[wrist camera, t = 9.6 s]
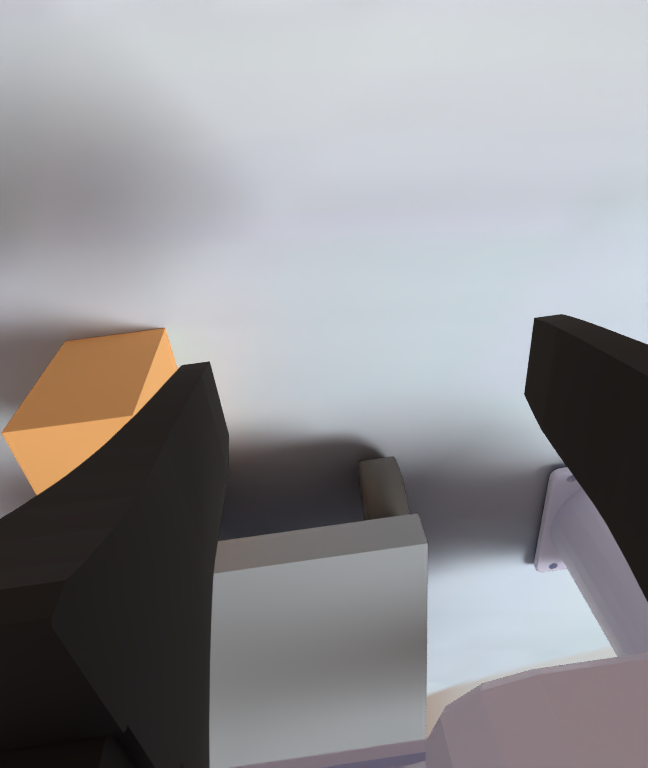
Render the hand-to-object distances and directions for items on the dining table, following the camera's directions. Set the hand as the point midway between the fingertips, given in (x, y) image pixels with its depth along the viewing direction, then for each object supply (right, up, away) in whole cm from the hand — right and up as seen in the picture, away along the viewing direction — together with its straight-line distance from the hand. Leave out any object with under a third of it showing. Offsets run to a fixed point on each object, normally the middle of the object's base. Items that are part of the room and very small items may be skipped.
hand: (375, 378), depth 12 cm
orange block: (-9, -1, +11) cm, 14 cm away
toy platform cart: (-3, -11, +18) cm, 22 cm away
